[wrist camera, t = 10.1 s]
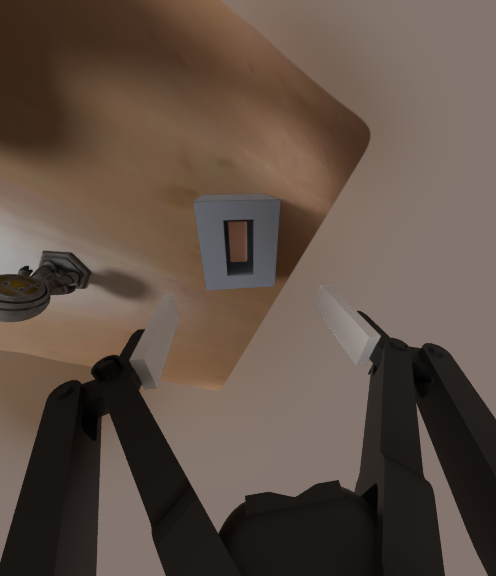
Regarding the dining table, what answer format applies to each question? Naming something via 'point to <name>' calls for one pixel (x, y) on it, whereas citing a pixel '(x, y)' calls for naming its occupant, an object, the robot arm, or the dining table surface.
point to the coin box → (260, 239)
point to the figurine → (40, 285)
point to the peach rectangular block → (238, 240)
